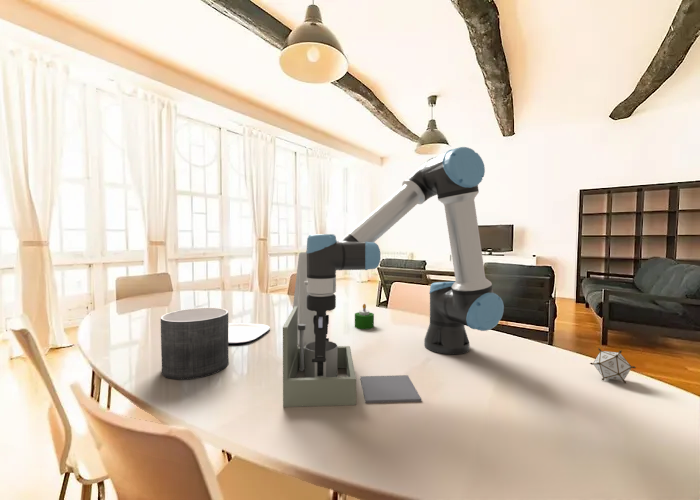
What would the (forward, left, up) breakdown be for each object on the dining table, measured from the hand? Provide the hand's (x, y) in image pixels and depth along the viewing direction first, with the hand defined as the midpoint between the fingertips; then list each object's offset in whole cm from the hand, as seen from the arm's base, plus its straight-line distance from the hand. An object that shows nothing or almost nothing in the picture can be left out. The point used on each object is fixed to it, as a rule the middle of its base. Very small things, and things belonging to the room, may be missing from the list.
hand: (321, 376), depth 83 cm
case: (0, 0, -2) cm, 2 cm away
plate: (+36, -45, -3) cm, 58 cm away
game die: (-78, +2, -2) cm, 78 cm away
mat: (-17, +4, -2) cm, 18 cm away
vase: (+5, -32, -2) cm, 32 cm away
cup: (0, 0, -2) cm, 2 cm away
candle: (-17, -54, -2) cm, 57 cm away
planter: (+37, -13, -2) cm, 39 cm away
